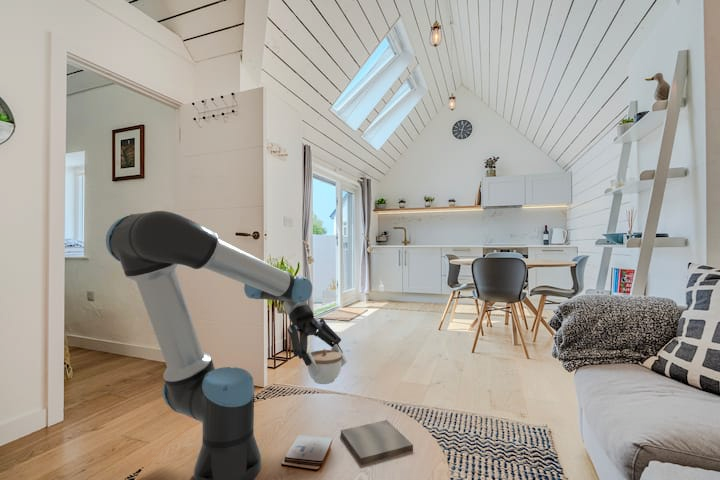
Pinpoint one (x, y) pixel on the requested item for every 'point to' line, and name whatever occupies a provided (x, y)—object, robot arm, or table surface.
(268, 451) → the table surface
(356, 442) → the brown metal plate
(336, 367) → the lidded jar
